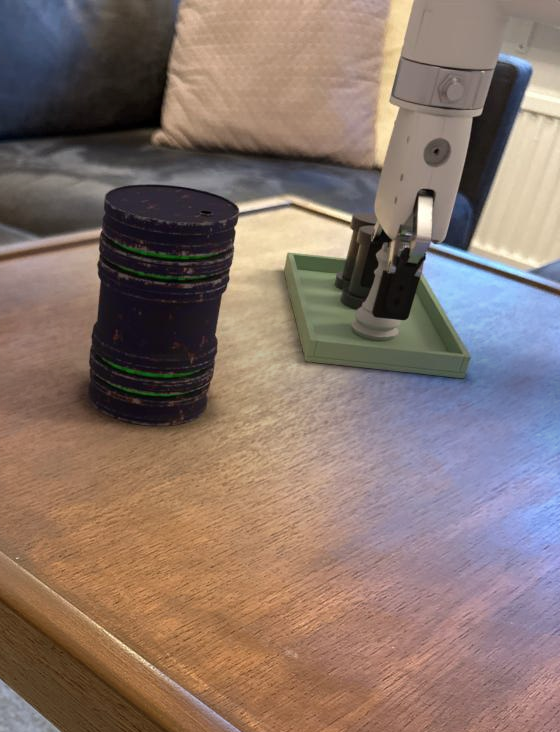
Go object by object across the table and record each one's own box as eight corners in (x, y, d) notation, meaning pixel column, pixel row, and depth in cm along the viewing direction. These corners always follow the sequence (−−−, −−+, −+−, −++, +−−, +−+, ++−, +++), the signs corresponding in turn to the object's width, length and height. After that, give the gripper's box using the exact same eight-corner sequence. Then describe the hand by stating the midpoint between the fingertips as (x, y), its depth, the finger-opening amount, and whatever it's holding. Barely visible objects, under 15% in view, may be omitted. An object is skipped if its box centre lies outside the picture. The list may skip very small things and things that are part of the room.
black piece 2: (380, 298, 101) (398, 227, 97) (387, 312, 98) (406, 239, 93) (337, 294, 101) (354, 222, 97) (343, 308, 98) (360, 235, 94)
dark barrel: (61, 397, 78) (74, 198, 69) (131, 362, 84) (152, 176, 75) (165, 439, 74) (194, 233, 64) (230, 399, 80) (266, 207, 71)
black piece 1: (372, 282, 105) (390, 214, 101) (379, 296, 102) (398, 226, 97) (331, 278, 105) (348, 209, 101) (336, 292, 102) (353, 221, 97)
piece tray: (413, 284, 107) (418, 266, 106) (464, 378, 87) (471, 357, 86) (283, 270, 107) (287, 252, 106) (305, 361, 88) (310, 339, 86)
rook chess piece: (348, 321, 95) (369, 236, 90) (394, 327, 95) (418, 242, 90) (351, 338, 92) (374, 250, 87) (400, 344, 91) (425, 256, 86)
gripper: (513, 113, 73) (441, 341, 84) (462, 74, 87) (406, 276, 98) (413, 103, 74) (354, 332, 85) (378, 66, 87) (331, 268, 98)
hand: (382, 300), depth 91 cm, fingers open, 7 cm apart
